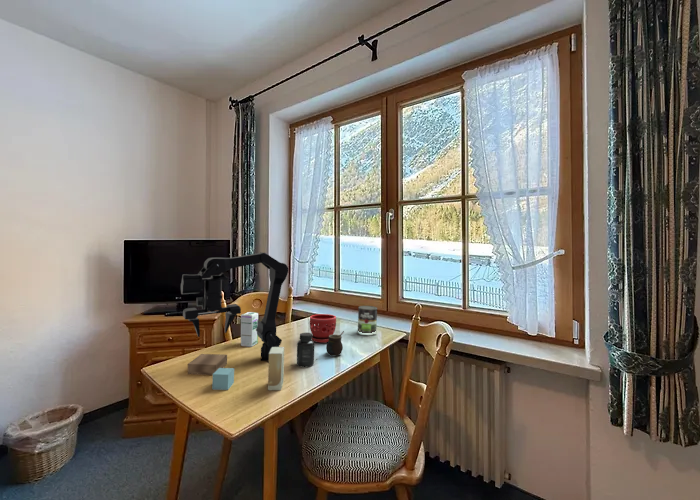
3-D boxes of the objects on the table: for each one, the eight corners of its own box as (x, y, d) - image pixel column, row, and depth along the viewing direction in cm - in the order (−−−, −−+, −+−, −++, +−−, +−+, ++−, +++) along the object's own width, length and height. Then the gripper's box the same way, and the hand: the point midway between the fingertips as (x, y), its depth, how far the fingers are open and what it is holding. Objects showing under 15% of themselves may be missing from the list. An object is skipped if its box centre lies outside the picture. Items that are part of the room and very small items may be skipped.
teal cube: (233, 383, 102) (234, 368, 102) (227, 390, 97) (228, 374, 97) (218, 382, 102) (219, 367, 102) (212, 389, 97) (212, 374, 97)
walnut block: (227, 364, 118) (227, 354, 118) (215, 375, 108) (216, 364, 108) (201, 364, 118) (201, 353, 118) (187, 375, 108) (187, 363, 108)
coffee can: (375, 336, 159) (376, 310, 159) (356, 335, 161) (357, 308, 161) (377, 331, 169) (378, 306, 169) (358, 329, 171) (359, 305, 171)
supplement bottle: (316, 362, 122) (317, 332, 122) (309, 369, 116) (310, 337, 115) (301, 360, 124) (302, 330, 124) (293, 366, 118) (294, 335, 118)
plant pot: (340, 339, 153) (341, 315, 153) (324, 346, 142) (325, 320, 142) (320, 334, 160) (320, 311, 160) (303, 340, 149) (304, 316, 149)
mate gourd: (323, 352, 133) (324, 330, 133) (338, 350, 137) (339, 328, 137) (329, 358, 127) (330, 334, 127) (345, 356, 130) (346, 332, 130)
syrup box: (251, 347, 137) (252, 315, 137) (240, 345, 139) (240, 314, 138) (258, 343, 143) (259, 312, 143) (246, 342, 144) (247, 311, 144)
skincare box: (270, 381, 104) (271, 346, 104) (283, 381, 104) (284, 346, 104) (267, 390, 98) (268, 353, 97) (281, 390, 98) (282, 353, 98)
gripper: (233, 287, 123) (232, 325, 124) (180, 290, 112) (180, 332, 113) (241, 291, 114) (240, 332, 115) (185, 295, 103) (185, 341, 104)
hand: (212, 334), depth 112 cm, fingers open, 9 cm apart
